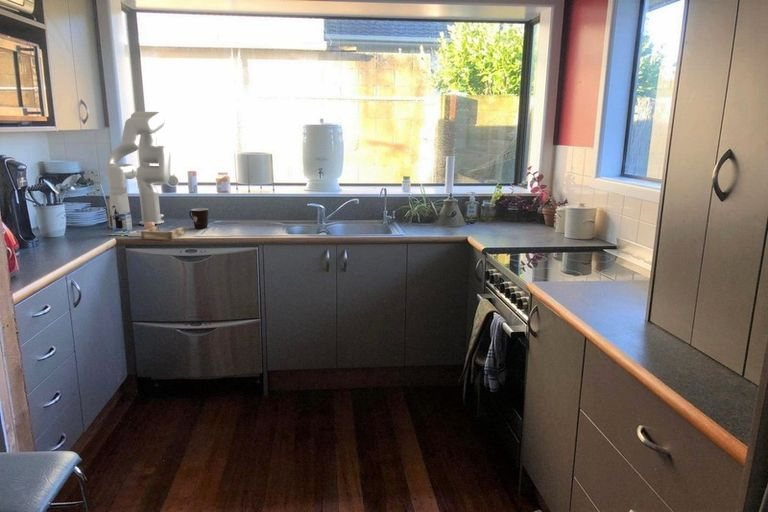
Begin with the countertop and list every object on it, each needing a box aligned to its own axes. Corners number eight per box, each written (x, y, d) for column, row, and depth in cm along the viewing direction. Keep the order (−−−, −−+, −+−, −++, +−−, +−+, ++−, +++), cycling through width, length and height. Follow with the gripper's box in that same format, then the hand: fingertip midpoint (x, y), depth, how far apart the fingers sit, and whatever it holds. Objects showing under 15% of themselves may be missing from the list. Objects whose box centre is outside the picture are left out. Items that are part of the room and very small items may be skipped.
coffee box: (127, 225, 304) (124, 195, 301) (129, 227, 299) (126, 197, 295) (108, 226, 299) (105, 197, 296) (110, 228, 294) (107, 198, 290)
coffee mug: (211, 228, 295) (210, 209, 293) (195, 230, 291) (193, 211, 288) (205, 225, 305) (203, 207, 302) (189, 226, 300) (187, 208, 298)
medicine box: (112, 230, 278) (110, 213, 276) (118, 229, 283) (116, 212, 281) (127, 231, 277) (125, 214, 275) (132, 229, 282) (130, 212, 279)
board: (120, 232, 286) (120, 231, 286) (137, 232, 284) (136, 231, 284) (108, 235, 276) (108, 235, 276) (125, 236, 275) (125, 235, 275)
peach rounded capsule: (148, 231, 288) (147, 221, 287) (157, 231, 288) (156, 221, 287) (142, 232, 284) (141, 223, 282) (152, 233, 283) (151, 223, 282)
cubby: (156, 233, 282) (155, 226, 281) (184, 234, 280) (183, 227, 279) (141, 238, 269) (140, 231, 268) (171, 239, 267) (170, 232, 266)
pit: (136, 233, 281) (136, 230, 280) (149, 234, 280) (149, 230, 280) (128, 236, 274) (128, 233, 274) (142, 237, 273) (141, 233, 273)
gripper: (121, 188, 284) (125, 224, 288) (100, 193, 268) (105, 230, 272) (135, 189, 283) (138, 224, 287) (115, 193, 267) (119, 230, 271)
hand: (122, 226), depth 280 cm, fingers closed on medicine box, 4 cm apart
